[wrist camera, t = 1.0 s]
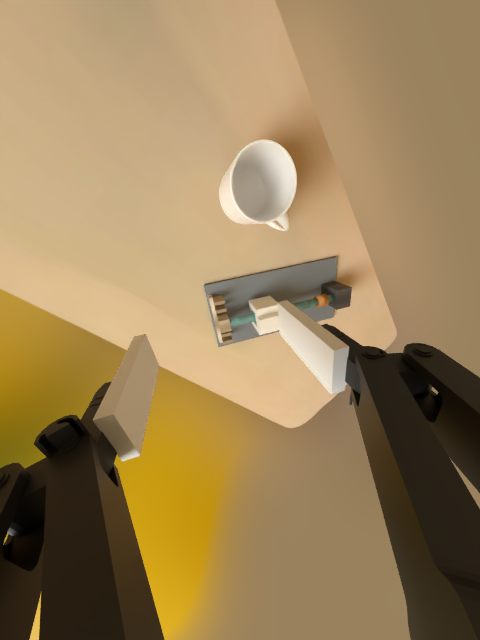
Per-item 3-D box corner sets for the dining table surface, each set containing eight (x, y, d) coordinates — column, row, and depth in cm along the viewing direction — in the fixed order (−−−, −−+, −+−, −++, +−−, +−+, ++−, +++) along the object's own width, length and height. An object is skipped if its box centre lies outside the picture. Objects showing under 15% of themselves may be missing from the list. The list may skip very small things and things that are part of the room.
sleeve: (248, 300, 40) (258, 312, 34) (269, 295, 40) (283, 307, 35) (251, 323, 42) (262, 338, 36) (271, 318, 43) (284, 332, 37)
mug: (256, 248, 38) (279, 255, 29) (207, 196, 33) (214, 183, 23) (289, 211, 37) (324, 206, 27) (242, 150, 31) (266, 117, 22)
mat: (203, 284, 39) (203, 285, 38) (335, 256, 42) (337, 257, 42) (218, 345, 45) (218, 347, 44) (332, 316, 49) (333, 317, 48)
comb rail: (207, 294, 40) (210, 304, 34) (332, 266, 43) (353, 272, 38) (218, 337, 44) (222, 352, 39) (330, 309, 48) (348, 319, 42)
